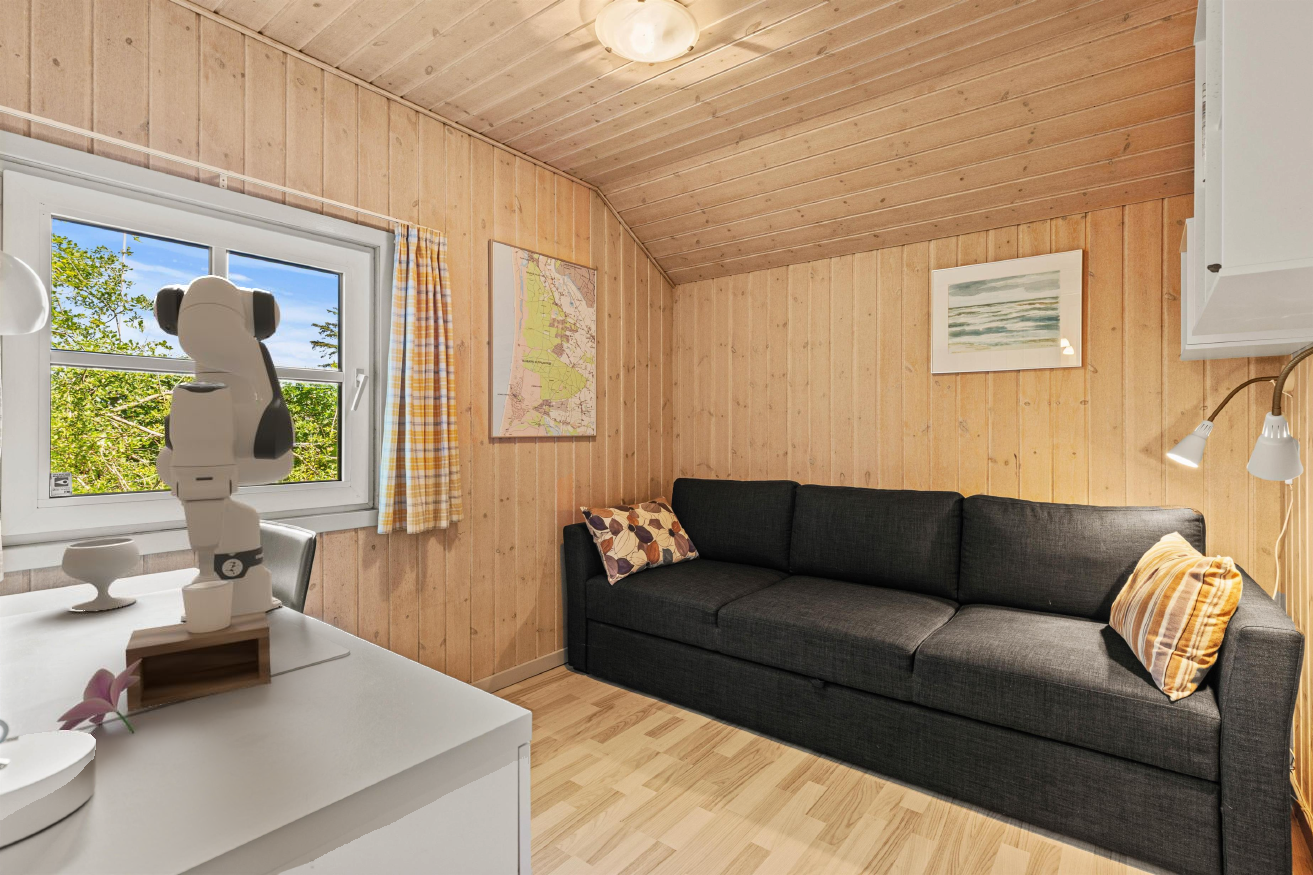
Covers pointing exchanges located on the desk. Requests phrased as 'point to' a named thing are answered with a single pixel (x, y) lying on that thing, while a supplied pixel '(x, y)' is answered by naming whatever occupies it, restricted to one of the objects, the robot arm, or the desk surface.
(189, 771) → the desk surface
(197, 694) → the walnut shelf
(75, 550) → the chalice
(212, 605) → the cream tapered cup
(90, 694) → the lily
